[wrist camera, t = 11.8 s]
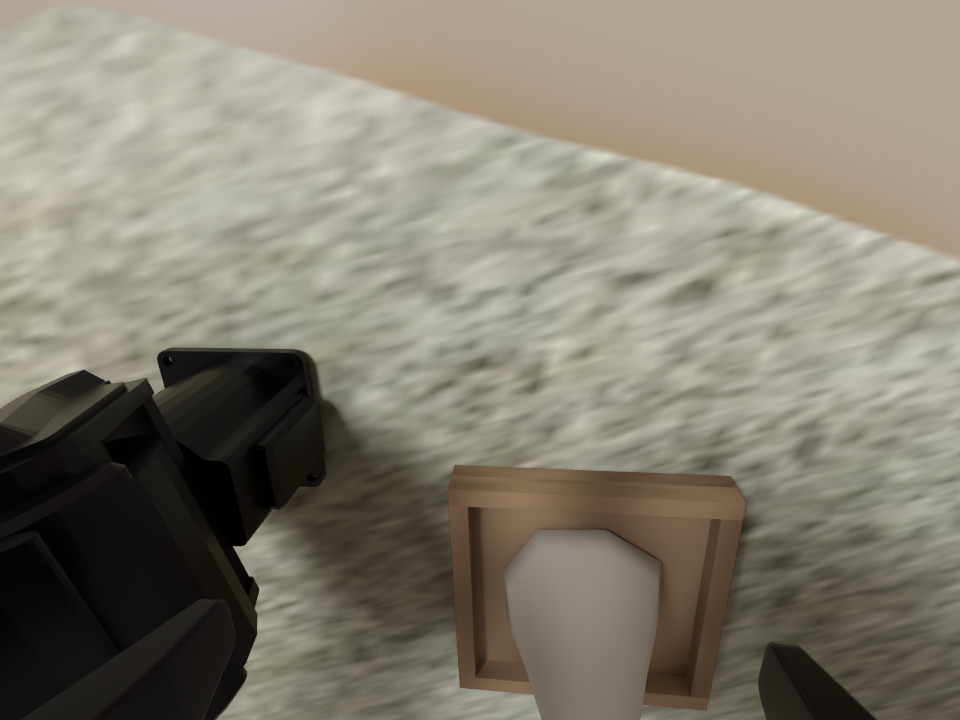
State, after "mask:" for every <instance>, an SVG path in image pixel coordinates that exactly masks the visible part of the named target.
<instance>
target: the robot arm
mask: <svg viewBox="0 0 960 720" xmlns="http://www.w3.org/2000/svg"><path fill="white" fill-rule="evenodd" d="M169 357H171V358H172V359H173V361H174V363H172V362H171V361H170V359H169ZM290 358H292V359H294V360H296V361H297V364H298V366H294V365H293V364H292V363H291V361H290ZM157 360H158V365H159V369H160V372H161V376H162V379H163V383H164V387H165V389H163V390H162V391H160V392H158V393H157V394H155V395H153V394H154V391H153V389H152V388H151V386H150V384H149V382H148V380H147V378H143V379H139V380H135V381H131V382H127V383H124V382H119V383H113V384H111V382H110V381H109V380H108V381H105V380H103V379H101V378H99V377H97V376H95V375H93V374H91V373H89V372H87V371H85V370H81V371H77V372H73V373H70V374H67V375H65V376H63V377H60V378H58V379H56V380H54V381H52V382H49V383H47V384H45V385H43V386H41V387H39V388H36V389H34V390H32V391H30V392H28V393H26V394H24V395H22V396H20V397H18V398H16V399H15V400H13V401H11V402H10V403H8V404H7V405H5V406H4V407H3V408H1V409H0V720H216V719H217V718H218V717H219V716H220V715H221V714H222V713H223V712H224V711H225V710H226V708H227V707H228V706H229V704H230V703H231V701H232V700H233V699H234V697H235V696H236V694H237V693H238V691H239V690H240V689H241V687H242V685H243V684H244V682H245V680H246V677H247V671H246V670H245V668H244V665H245V664H246V662H247V659H248V656H249V654H250V651H251V649H252V646H253V644H254V641H255V638H256V636H257V612H256V611H255V605H256V601H257V597H258V593H259V587H258V585H257V584H256V582H255V580H254V578H253V577H249V576H248V574H247V572H246V570H245V568H244V566H243V564H242V563H241V561H240V559H239V557H238V555H237V553H236V551H235V550H234V548H233V546H244V545H245V544H246V543H247V542H248V541H249V539H250V538H251V537H252V535H253V534H254V533H255V532H256V530H257V529H258V528H259V526H260V525H261V524H262V522H263V521H264V520H265V519H266V517H267V516H268V515H269V513H270V512H271V511H272V510H280V509H282V508H283V507H284V506H285V505H286V504H287V502H288V501H289V499H290V498H291V497H292V495H293V494H294V493H295V491H296V490H297V489H298V487H299V486H306V487H316V486H318V485H320V484H321V483H322V481H323V480H324V478H325V476H326V472H325V466H324V460H323V454H324V452H325V443H324V437H323V431H322V424H321V418H320V412H319V406H318V402H317V400H316V399H315V398H314V397H313V392H312V386H311V380H310V374H309V367H308V361H307V358H306V356H305V355H304V354H303V353H302V352H301V351H299V350H295V349H236V348H168V349H166V350H164V351H162V352H161V353H159V354H158V357H157ZM152 395H153V396H152ZM310 473H314V474H315V475H316V477H313V476H312V475H311V474H310ZM758 686H759V694H760V698H761V702H762V705H763V709H764V713H765V717H766V720H877V719H876V718H875V717H874V716H873V715H872V714H871V713H870V712H869V711H868V710H867V709H866V708H865V707H864V706H862V705H861V704H860V703H859V702H858V701H857V700H856V699H855V698H854V697H853V696H852V695H851V694H850V693H849V692H848V691H847V690H846V689H845V688H844V687H842V686H841V685H840V684H839V683H838V682H837V681H836V680H835V679H834V678H833V677H832V676H831V675H830V674H829V673H828V672H827V671H826V670H825V669H823V668H822V667H821V666H820V665H819V664H818V663H817V662H816V661H815V660H814V659H813V658H812V657H811V656H810V655H809V654H808V653H807V652H806V651H805V650H803V649H802V648H801V647H800V646H798V645H796V644H792V643H781V642H770V643H769V644H768V645H767V646H766V649H765V653H764V657H763V661H762V665H761V670H760V674H759V679H758Z"/></svg>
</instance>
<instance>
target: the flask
mask: <svg viewBox="0 0 960 720" xmlns="http://www.w3.org/2000/svg"><path fill="white" fill-rule="evenodd" d="M660 577H661V562H660V561H658V560H657V559H655V558H653V557H652V556H650V555H648V554H646V553H645V552H643V551H641V550H640V549H638V548H636V547H635V546H633V545H631V544H629V543H628V542H626V541H624V540H623V539H621V538H619V537H618V536H616V535H614V534H612V533H611V532H609V531H607V530H537V531H536V532H535V534H534V535H533V536H532V537H531V538H530V539H529V541H528V542H527V543H526V544H525V545H524V547H523V548H522V549H521V550H520V551H519V552H518V554H517V555H516V556H515V557H514V558H513V559H512V561H511V562H510V563H509V564H508V565H507V566H506V568H505V569H504V570H503V580H504V589H505V599H506V608H507V618H508V621H509V624H510V628H511V631H512V634H513V636H514V639H515V642H516V645H517V647H518V650H519V653H520V655H521V658H522V661H523V664H524V666H525V669H526V672H527V675H528V677H529V681H530V684H531V687H532V690H533V693H534V696H535V699H536V703H537V706H538V709H539V712H540V715H541V718H542V720H640V718H641V712H642V706H643V699H644V693H645V686H646V680H647V674H648V669H649V664H650V659H651V654H652V649H653V644H654V639H655V635H656V630H657V624H658V617H659V606H660Z"/></svg>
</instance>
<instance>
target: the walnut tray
mask: <svg viewBox="0 0 960 720" xmlns="http://www.w3.org/2000/svg"><path fill="white" fill-rule="evenodd" d="M448 505H449V521H450V537H451V553H452V569H453V585H454V601H455V617H456V633H457V649H458V665H459V681H460V688H468V689H479V690H490V691H501V692H512V693H523V694H534V693H533V690H532V687H531V684H530V681H529V677H528V675H527V672H526V669H525V666H524V664H523V661H522V658H521V655H520V653H519V650H518V647H517V645H516V642H515V639H514V636H513V634H512V631H511V628H510V624H509V621H508V618H507V608H506V599H505V589H504V580H503V570H504V569H505V568H506V566H507V565H508V564H509V563H510V562H511V561H512V559H513V558H514V557H515V556H516V555H517V554H518V552H519V551H520V550H521V549H522V548H523V547H524V545H525V544H526V543H527V542H528V541H529V539H530V538H531V537H532V536H533V535H534V534H535V532H536V531H537V530H607V531H609V532H611V533H612V534H614V535H616V536H618V537H619V538H621V539H623V540H624V541H626V542H628V543H629V544H631V545H633V546H635V547H636V548H638V549H640V550H641V551H643V552H645V553H646V554H648V555H650V556H652V557H653V558H655V559H657V560H658V561H660V562H661V577H660V606H659V617H658V624H657V630H656V635H655V639H654V644H653V649H652V654H651V659H650V664H649V669H648V674H647V680H646V686H645V693H644V699H643V705H653V706H664V707H675V708H686V709H697V710H707V706H708V700H709V695H710V690H711V685H712V679H713V674H714V669H715V664H716V658H717V653H718V648H719V643H720V638H721V632H722V627H723V622H724V617H725V611H726V606H727V601H728V596H729V590H730V585H731V580H732V575H733V569H734V564H735V559H736V554H737V548H738V543H739V538H740V533H741V527H742V522H743V517H744V512H745V506H746V502H745V501H744V499H743V497H742V495H741V494H740V492H739V490H738V488H737V487H736V485H735V483H734V481H733V480H732V478H731V476H709V475H684V474H659V473H634V472H609V471H584V470H559V469H534V468H509V467H484V466H459V465H455V466H454V469H453V473H452V476H451V480H450V483H449V486H448Z"/></svg>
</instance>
